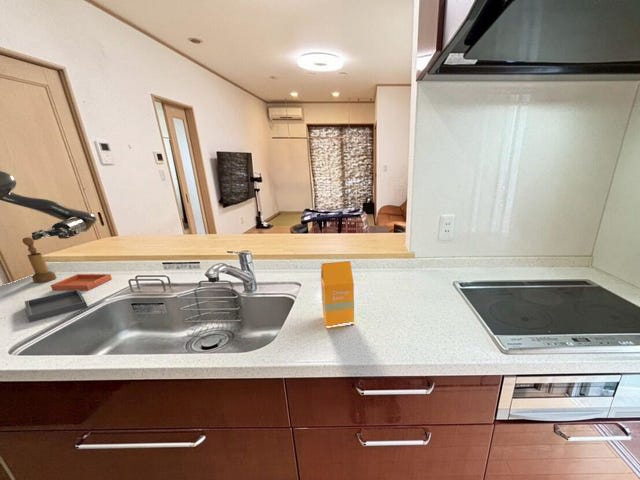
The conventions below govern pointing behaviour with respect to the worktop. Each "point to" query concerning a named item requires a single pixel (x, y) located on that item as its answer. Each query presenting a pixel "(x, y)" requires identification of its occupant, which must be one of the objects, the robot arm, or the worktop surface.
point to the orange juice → (337, 293)
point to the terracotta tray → (81, 282)
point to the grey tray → (54, 305)
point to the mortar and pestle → (38, 263)
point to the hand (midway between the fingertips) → (46, 237)
